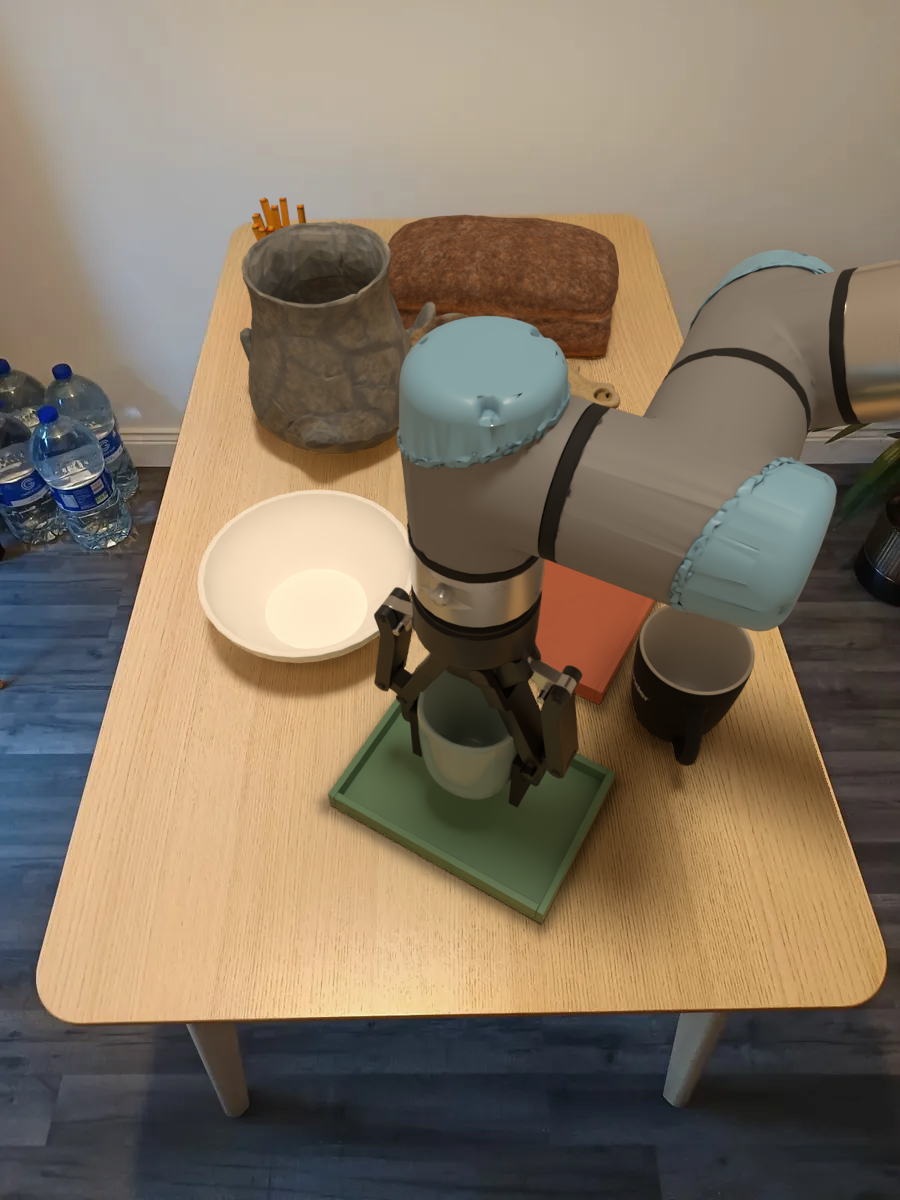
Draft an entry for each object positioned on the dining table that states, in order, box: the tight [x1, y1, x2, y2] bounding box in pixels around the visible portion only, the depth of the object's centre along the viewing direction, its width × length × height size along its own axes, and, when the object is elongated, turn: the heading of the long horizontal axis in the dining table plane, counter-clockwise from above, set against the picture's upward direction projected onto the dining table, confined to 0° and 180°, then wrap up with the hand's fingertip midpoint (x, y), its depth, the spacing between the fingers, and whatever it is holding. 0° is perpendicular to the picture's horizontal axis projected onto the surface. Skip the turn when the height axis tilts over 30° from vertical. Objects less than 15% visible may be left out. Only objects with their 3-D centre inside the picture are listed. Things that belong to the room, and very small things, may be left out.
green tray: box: [327, 698, 616, 924], centre depth 70 cm, size 19×13×2 cm
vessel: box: [239, 221, 436, 456], centre depth 91 cm, size 22×22×20 cm
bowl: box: [196, 488, 412, 664], centre depth 80 cm, size 20×20×7 cm
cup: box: [417, 670, 518, 800], centre depth 63 cm, size 8×8×10 cm
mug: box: [630, 604, 756, 767], centre depth 70 cm, size 12×9×10 cm
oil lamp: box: [566, 361, 621, 409], centre depth 99 cm, size 11×14×5 cm
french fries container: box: [251, 197, 307, 242], centre depth 106 cm, size 7×9×14 cm
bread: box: [387, 214, 620, 357], centre depth 107 cm, size 17×29×11 cm, turn 82°
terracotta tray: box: [535, 560, 657, 705], centre depth 82 cm, size 17×16×2 cm
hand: (472, 765), depth 67 cm, fingers closed on cup, 8 cm apart
